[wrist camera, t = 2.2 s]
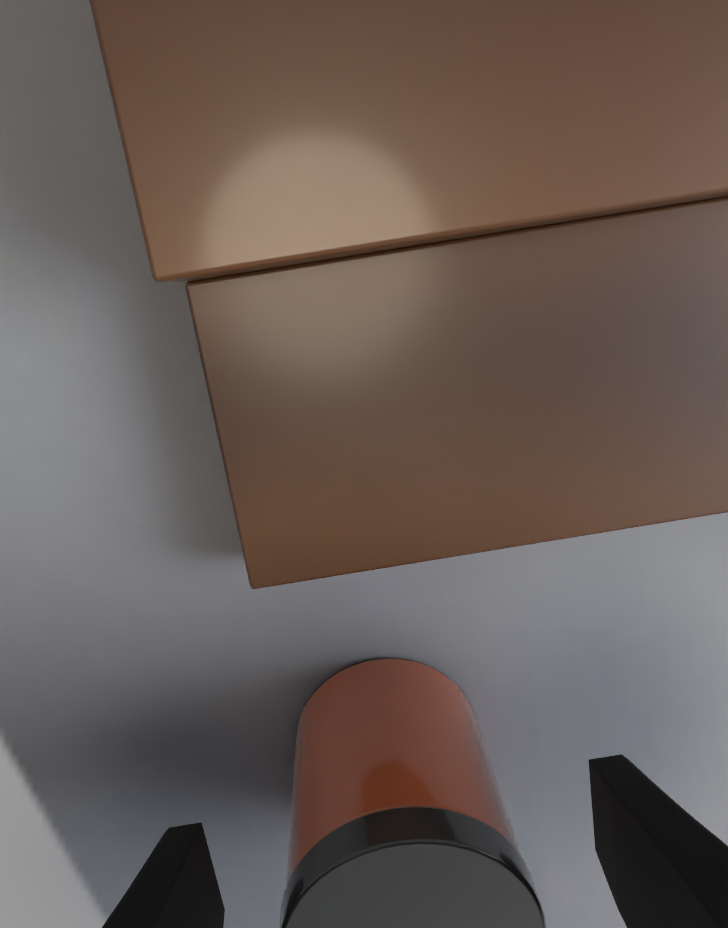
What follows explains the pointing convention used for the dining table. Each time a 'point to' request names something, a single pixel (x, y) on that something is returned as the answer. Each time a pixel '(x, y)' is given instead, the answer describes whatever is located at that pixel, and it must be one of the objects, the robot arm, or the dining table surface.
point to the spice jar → (399, 810)
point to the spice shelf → (440, 262)
